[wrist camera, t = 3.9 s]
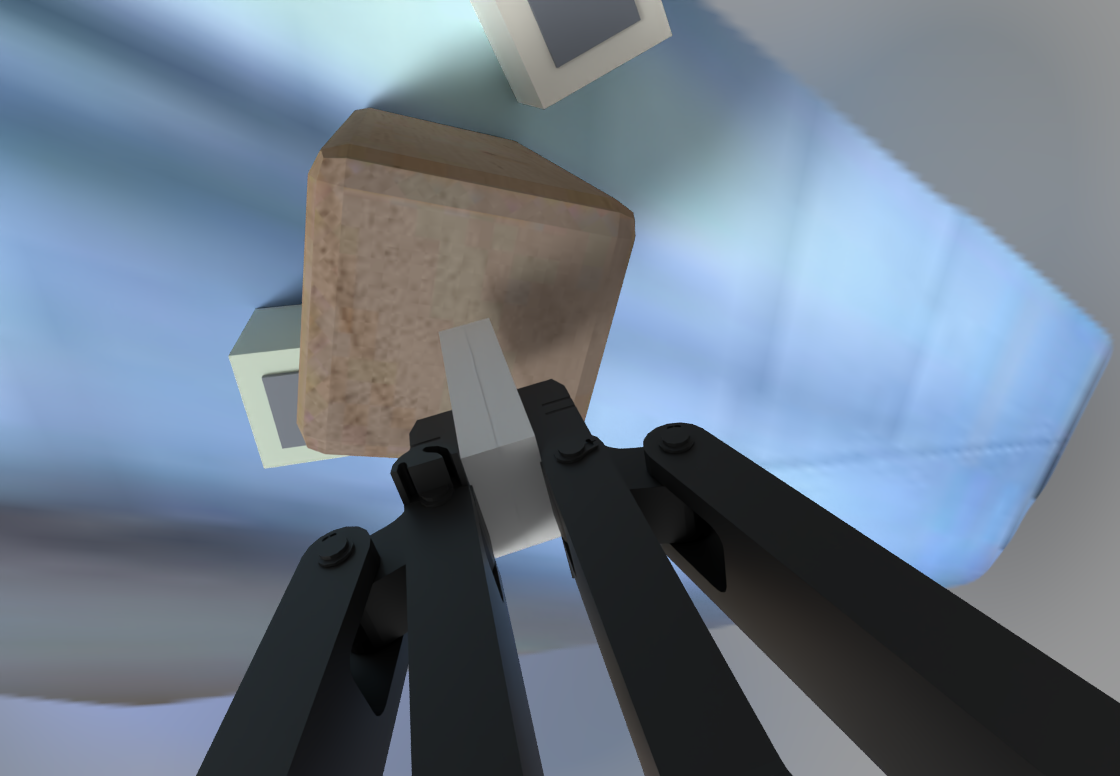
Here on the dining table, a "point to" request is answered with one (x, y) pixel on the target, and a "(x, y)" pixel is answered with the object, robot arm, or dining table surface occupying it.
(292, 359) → the sage labelled cube
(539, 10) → the cream labelled cube
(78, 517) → the dining table surface
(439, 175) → the wooden block
